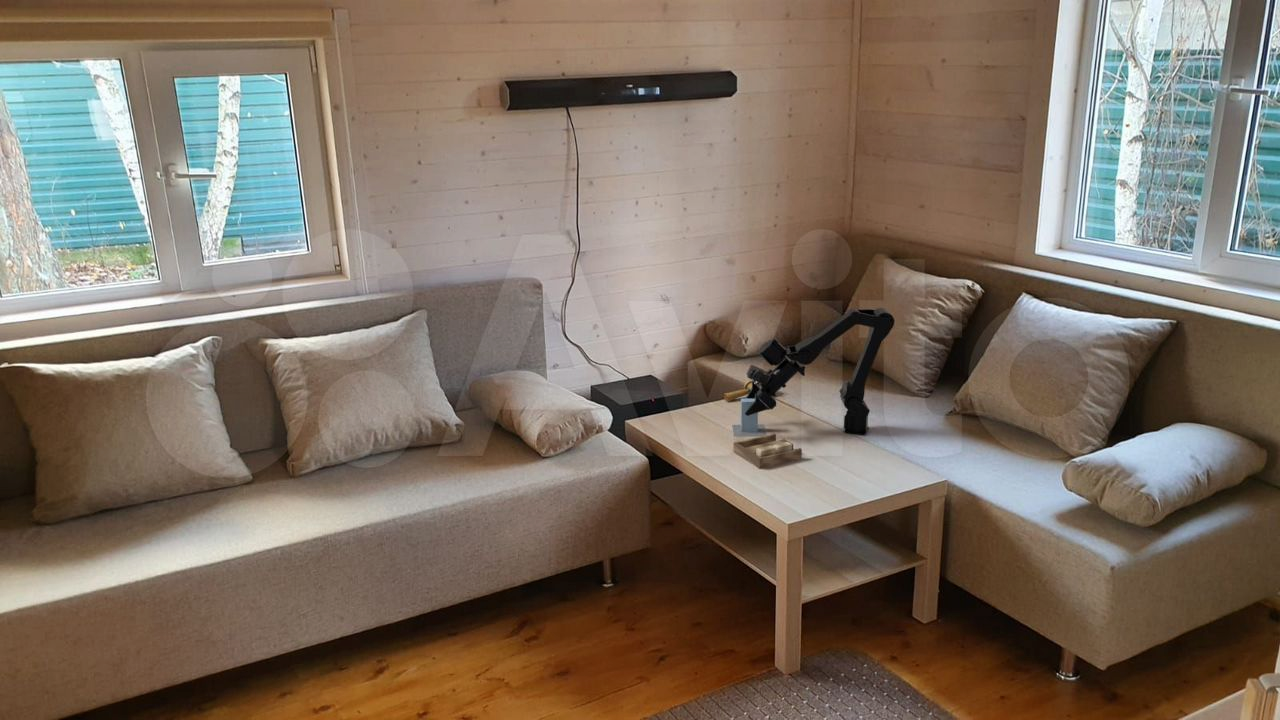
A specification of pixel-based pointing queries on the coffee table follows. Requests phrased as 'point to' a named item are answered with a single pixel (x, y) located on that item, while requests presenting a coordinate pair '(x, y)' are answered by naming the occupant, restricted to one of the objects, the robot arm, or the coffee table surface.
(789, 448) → the offcut
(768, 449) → the offcut
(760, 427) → the mat
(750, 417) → the light blue block
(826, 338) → the robot arm
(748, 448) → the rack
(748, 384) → the kendama
